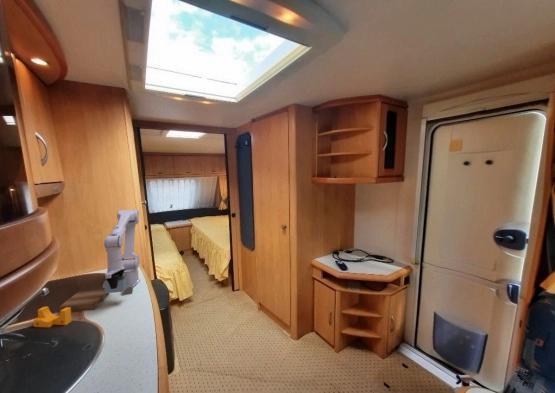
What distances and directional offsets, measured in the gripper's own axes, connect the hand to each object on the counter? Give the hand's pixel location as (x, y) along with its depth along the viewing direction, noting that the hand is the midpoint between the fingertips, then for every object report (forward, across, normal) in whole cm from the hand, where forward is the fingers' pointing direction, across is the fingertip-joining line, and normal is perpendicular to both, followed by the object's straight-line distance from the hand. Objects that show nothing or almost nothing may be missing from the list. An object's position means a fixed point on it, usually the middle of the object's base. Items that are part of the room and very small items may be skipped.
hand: (116, 286), depth 111 cm
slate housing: (+2, 0, 0) cm, 2 cm away
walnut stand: (+9, +3, +15) cm, 17 cm away
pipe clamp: (+9, -12, +19) cm, 24 cm away
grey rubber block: (+9, +10, -1) cm, 13 cm away
